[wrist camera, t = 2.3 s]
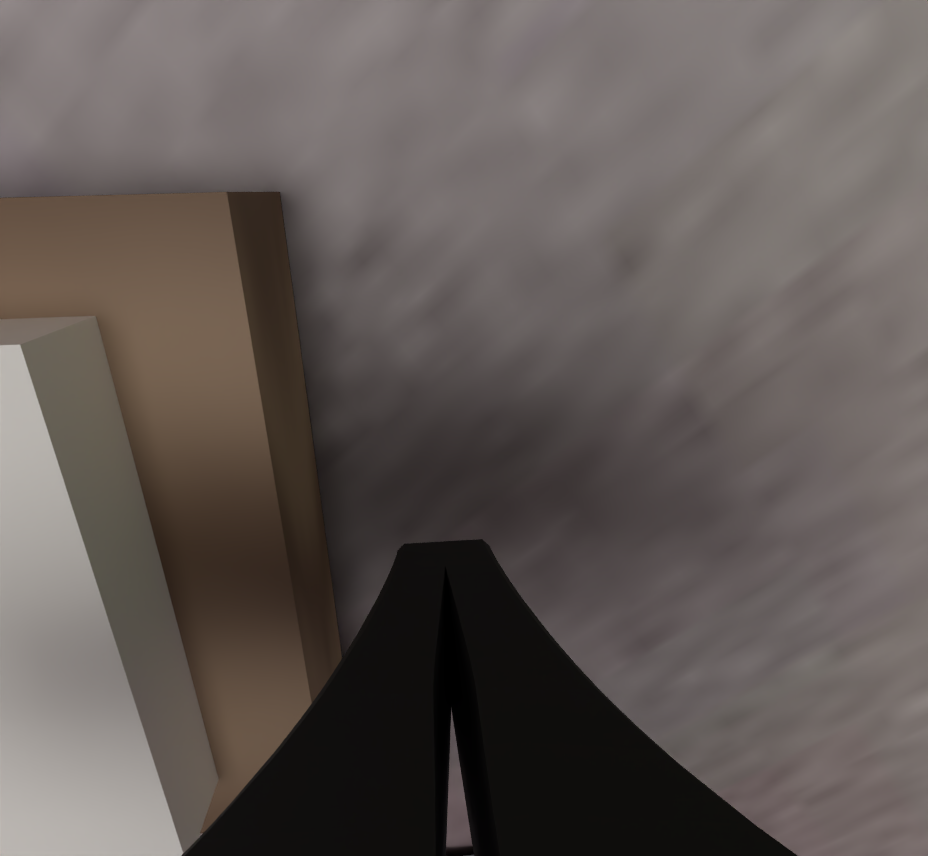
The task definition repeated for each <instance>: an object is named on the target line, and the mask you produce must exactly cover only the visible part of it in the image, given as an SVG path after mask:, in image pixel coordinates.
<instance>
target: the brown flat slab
mask: <svg viewBox="0 0 928 856" xmlns="http://www.w3.org/2000/svg"><path fill="white" fill-rule="evenodd" d="M76 316H96V319H97V323H98V327H99V330H100V334H101V338H102V342H103V346H104V349H105V353H106V357H107V361H108V364H109V368H110V372H111V376H112V379H113V383H114V387H115V391H116V395H117V398H118V402H119V406H120V410H121V413H122V417H123V421H124V425H125V428H126V432H127V436H128V440H129V444H130V447H131V451H132V455H133V459H134V462H135V466H136V470H137V474H138V477H139V481H140V485H141V489H142V493H143V496H144V500H145V504H146V508H147V511H148V515H149V519H150V523H151V526H152V530H153V534H154V538H155V542H156V545H157V549H158V553H159V557H160V560H161V564H162V568H163V572H164V575H165V579H166V583H167V587H168V591H169V594H170V598H171V602H172V606H173V609H174V613H175V617H176V621H177V624H178V628H179V632H180V636H181V640H182V643H183V647H184V651H185V655H186V658H187V662H188V666H189V670H190V673H191V677H192V681H193V685H194V689H195V692H196V696H197V700H198V704H199V707H200V711H201V715H202V719H203V722H204V726H205V730H206V734H207V738H208V741H209V745H210V749H211V753H212V756H213V760H214V764H215V768H216V771H217V775H218V782H217V785H216V788H215V791H214V794H213V797H212V800H211V803H210V805H209V808H208V811H207V814H206V817H205V820H204V823H203V826H202V829H201V832H200V833H204V832H205V831H206V830H207V829H208V827H209V826H210V825H211V824H212V823H213V822H214V821H215V820H216V819H217V818H218V817H219V815H220V814H221V813H222V812H223V811H224V810H225V809H226V808H227V807H228V806H229V804H230V803H231V802H232V801H233V800H234V799H235V798H236V796H237V795H238V794H239V793H240V792H241V791H242V789H243V788H244V787H245V786H246V785H247V784H248V782H249V781H250V780H251V779H252V778H253V777H254V775H255V774H256V773H257V772H258V771H259V769H260V768H261V767H262V766H263V765H264V764H265V762H266V761H267V760H268V759H269V758H270V757H271V755H272V754H273V753H274V752H275V751H276V749H277V748H278V747H279V746H280V744H281V743H282V742H283V740H284V739H285V738H286V737H287V735H288V734H289V733H290V731H291V730H292V729H293V728H294V726H295V725H296V724H297V723H298V721H299V720H300V719H301V717H302V716H303V715H304V713H305V712H306V711H307V709H308V708H309V707H310V705H311V704H312V702H313V701H314V700H315V698H316V697H317V695H318V694H319V693H320V691H321V690H322V688H323V687H324V685H325V684H326V682H327V681H328V679H329V678H330V676H331V675H332V673H333V672H334V670H335V669H336V667H337V666H338V664H339V662H340V661H341V659H342V654H341V647H340V639H339V632H338V624H337V617H336V609H335V602H334V594H333V587H332V580H331V572H330V565H329V557H328V550H327V542H326V535H325V527H324V520H323V512H322V505H321V497H320V490H319V483H318V475H317V468H316V460H315V453H314V445H313V438H312V430H311V423H310V415H309V408H308V400H307V393H306V385H305V378H304V371H303V363H302V356H301V348H300V341H299V333H298V326H297V318H296V311H295V303H294V296H293V288H292V281H291V274H290V266H289V259H288V251H287V244H286V236H285V229H284V221H283V214H282V206H281V199H280V192H211V193H172V194H133V195H94V196H55V197H16V198H0V319H22V318H49V317H76Z"/></svg>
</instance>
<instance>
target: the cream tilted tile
mask: <svg viewBox="0 0 928 856" xmlns="http://www.w3.org/2000/svg"><path fill="white" fill-rule="evenodd" d="M217 782H218V775H217V771H216V768H215V764H214V760H213V756H212V753H211V749H210V745H209V741H208V738H207V734H206V730H205V726H204V722H203V719H202V715H201V711H200V707H199V704H198V700H197V696H196V692H195V689H194V685H193V681H192V677H191V673H190V670H189V666H188V662H187V658H186V655H185V651H184V647H183V643H182V640H181V636H180V632H179V628H178V624H177V621H176V617H175V613H174V609H173V606H172V602H171V598H170V594H169V591H168V587H167V583H166V579H165V575H164V572H163V568H162V564H161V560H160V557H159V553H158V549H157V545H156V542H155V538H154V534H153V530H152V526H151V523H150V519H149V515H148V511H147V508H146V504H145V500H144V496H143V493H142V489H141V485H140V481H139V477H138V474H137V470H136V466H135V462H134V459H133V455H132V451H131V447H130V444H129V440H128V436H127V432H126V428H125V425H124V421H123V417H122V413H121V410H120V406H119V402H118V398H117V395H116V391H115V387H114V383H113V379H112V376H111V372H110V368H109V364H108V361H107V357H106V353H105V349H104V346H103V342H102V338H101V334H100V330H99V327H98V323H97V319H96V316H76V317H49V318H22V319H0V856H181V855H182V854H183V853H184V852H185V851H186V850H187V849H188V848H189V847H190V846H191V845H192V844H193V843H194V842H195V841H196V840H197V839H198V837H199V835H200V832H201V829H202V826H203V823H204V820H205V817H206V814H207V811H208V808H209V805H210V803H211V800H212V797H213V794H214V791H215V788H216V785H217Z"/></svg>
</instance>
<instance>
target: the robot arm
mask: <svg viewBox="0 0 928 856" xmlns="http://www.w3.org/2000/svg"><path fill="white" fill-rule="evenodd" d="M451 708H452V715H453V722H454V728H455V735H456V741H457V748H458V754H459V761H460V767H461V774H462V780H463V787H464V793H465V800H466V806H467V812H468V819H469V825H470V832H471V838H472V845H473V851H474V855H465V856H797V855H796V854H794V853H793V852H792V851H790V850H789V849H787V848H786V847H785V846H783V845H782V844H781V843H779V842H778V841H776V840H775V839H774V838H772V837H771V836H770V835H768V834H767V833H765V832H764V831H763V830H761V829H760V828H758V827H757V826H756V825H754V824H753V823H752V822H751V821H749V820H748V819H747V818H746V817H745V816H743V815H742V814H741V813H740V812H738V811H737V810H736V809H735V808H733V807H732V806H731V805H730V804H728V803H727V802H726V801H725V800H723V799H722V798H721V797H720V796H718V795H717V794H716V793H715V792H713V791H712V790H711V789H710V788H708V787H707V786H706V785H705V784H703V783H702V782H701V781H700V780H698V779H697V778H696V777H695V776H693V775H692V774H691V773H690V772H688V771H687V770H686V769H685V768H683V767H682V766H681V765H680V764H679V763H677V762H676V761H675V760H674V759H673V758H672V757H670V756H669V755H668V754H667V753H666V752H665V751H664V750H663V749H662V748H660V747H659V746H658V745H657V744H656V743H655V742H654V741H653V740H652V739H650V738H649V737H648V736H647V735H646V734H645V733H644V732H643V731H642V730H640V729H639V728H638V727H637V726H636V725H635V724H634V723H633V722H632V721H631V720H630V719H629V718H628V717H627V716H626V715H625V714H624V713H623V712H622V711H620V710H619V709H618V708H617V707H616V706H615V705H614V704H613V703H612V702H611V701H610V700H609V699H608V698H607V697H606V696H605V695H604V694H603V693H602V692H601V691H600V690H599V689H598V688H597V687H596V686H595V684H594V683H593V682H592V681H591V680H590V679H589V678H588V677H587V676H586V675H585V674H584V673H583V672H582V671H581V669H580V668H579V667H578V666H577V665H576V664H575V663H574V662H573V660H572V659H571V658H570V657H569V656H568V655H567V654H566V653H565V651H564V650H563V649H562V648H561V647H560V646H559V644H558V643H557V642H556V641H555V640H554V638H553V637H552V636H551V635H550V634H549V632H548V631H547V630H546V629H545V627H544V626H543V625H542V624H541V622H540V621H539V620H538V618H537V617H536V616H535V615H534V613H533V612H532V611H531V609H530V608H529V607H528V605H527V604H526V603H525V602H524V600H523V599H522V597H521V596H520V595H519V593H518V592H517V590H516V589H515V587H514V586H513V584H512V583H511V582H510V580H509V579H508V577H507V576H506V574H505V573H504V571H503V569H502V568H501V566H500V565H499V563H498V561H497V560H496V558H495V556H494V554H493V552H492V551H491V549H490V546H489V545H488V544H487V543H486V542H485V541H483V540H482V539H479V540H462V541H445V542H428V543H411V544H404V545H403V546H402V547H401V548H400V549H399V550H398V551H397V555H396V558H395V561H394V563H393V566H392V568H391V571H390V573H389V575H388V577H387V580H386V582H385V584H384V586H383V588H382V590H381V592H380V594H379V596H378V598H377V600H376V602H375V604H374V605H373V607H372V609H371V611H370V613H369V614H368V616H367V618H366V620H365V622H364V623H363V625H362V627H361V629H360V631H359V632H358V634H357V636H356V637H355V639H354V641H353V642H352V644H351V646H350V647H349V649H348V650H347V652H346V653H345V655H344V656H343V658H342V659H341V661H340V662H339V664H338V666H337V667H336V669H335V670H334V672H333V673H332V675H331V676H330V678H329V679H328V681H327V682H326V684H325V685H324V687H323V688H322V690H321V691H320V693H319V694H318V695H317V697H316V698H315V700H314V701H313V702H312V704H311V705H310V707H309V708H308V709H307V711H306V712H305V713H304V715H303V716H302V717H301V719H300V720H299V721H298V723H297V724H296V725H295V726H294V728H293V729H292V730H291V731H290V733H289V734H288V735H287V737H286V738H285V739H284V740H283V742H282V743H281V744H280V746H279V747H278V748H277V749H276V751H275V752H274V753H273V754H272V755H271V757H270V758H269V759H268V760H267V761H266V762H265V764H264V765H263V766H262V767H261V768H260V769H259V771H258V772H257V773H256V774H255V775H254V777H253V778H252V779H251V780H250V781H249V782H248V784H247V785H246V786H245V787H244V788H243V789H242V791H241V792H240V793H239V794H238V795H237V796H236V798H235V799H234V800H233V801H232V802H231V803H230V804H229V806H228V807H227V808H226V809H225V810H224V811H223V812H222V813H221V814H220V815H219V817H218V818H217V819H216V820H215V821H214V822H213V823H212V824H211V825H210V826H209V827H208V829H207V830H206V831H205V832H204V833H203V834H202V835H201V836H200V837H199V838H198V839H197V840H196V841H195V842H194V843H193V844H192V845H191V846H190V847H189V848H188V849H187V850H186V851H185V852H184V853H183V854H182V855H181V856H446V834H447V807H448V780H449V753H450V726H451Z"/></svg>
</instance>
